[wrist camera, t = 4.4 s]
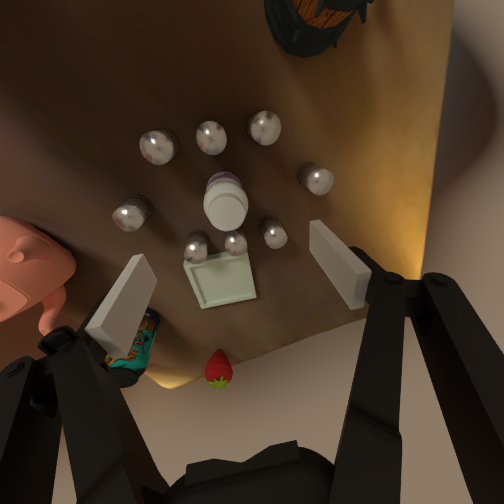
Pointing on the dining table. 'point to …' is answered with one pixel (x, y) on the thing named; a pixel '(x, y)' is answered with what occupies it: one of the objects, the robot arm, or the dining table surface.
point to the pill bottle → (225, 201)
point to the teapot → (32, 271)
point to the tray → (221, 279)
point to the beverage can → (136, 352)
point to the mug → (311, 23)
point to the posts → (213, 142)
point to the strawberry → (218, 370)
